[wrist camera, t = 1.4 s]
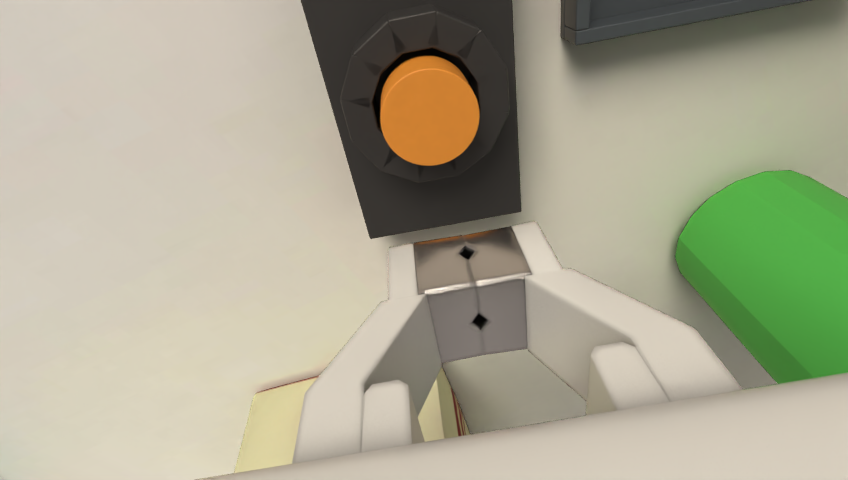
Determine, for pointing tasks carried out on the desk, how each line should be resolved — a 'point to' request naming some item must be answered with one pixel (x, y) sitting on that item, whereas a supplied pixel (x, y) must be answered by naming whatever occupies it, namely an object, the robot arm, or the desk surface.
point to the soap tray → (646, 15)
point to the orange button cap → (428, 111)
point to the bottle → (775, 270)
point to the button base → (361, 103)
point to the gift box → (281, 410)
